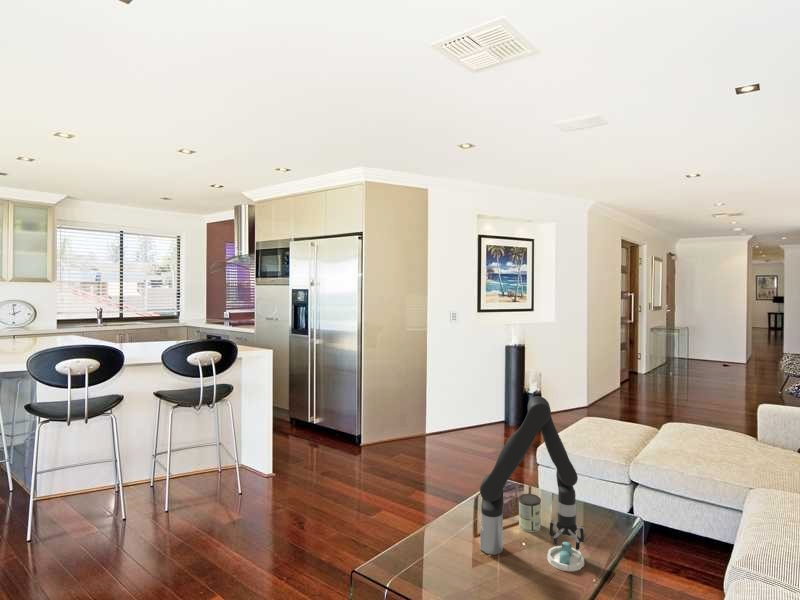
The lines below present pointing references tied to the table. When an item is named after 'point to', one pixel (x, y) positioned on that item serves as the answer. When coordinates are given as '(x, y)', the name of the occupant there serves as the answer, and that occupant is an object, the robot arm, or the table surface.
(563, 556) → the bead
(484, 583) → the table surface
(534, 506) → the coffee can
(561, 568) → the ring tray
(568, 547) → the bead
